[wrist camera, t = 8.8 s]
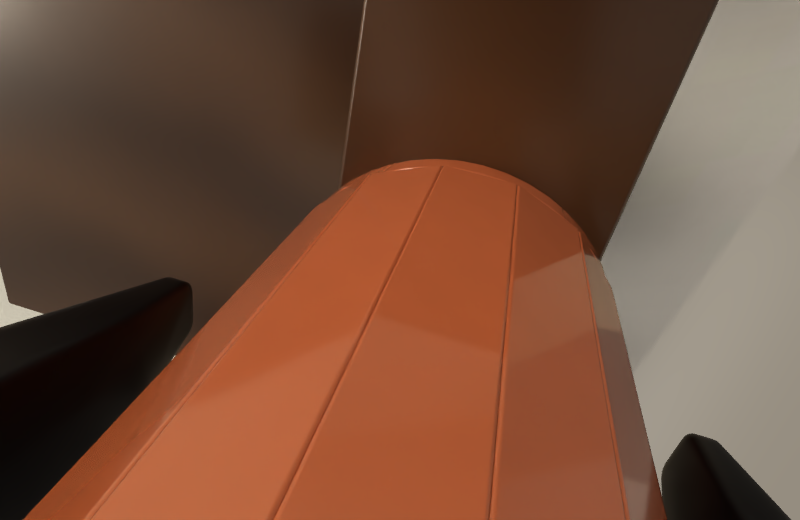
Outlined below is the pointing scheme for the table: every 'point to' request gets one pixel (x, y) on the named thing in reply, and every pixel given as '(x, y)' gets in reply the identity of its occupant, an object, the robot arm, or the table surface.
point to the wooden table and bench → (302, 121)
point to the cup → (393, 374)
